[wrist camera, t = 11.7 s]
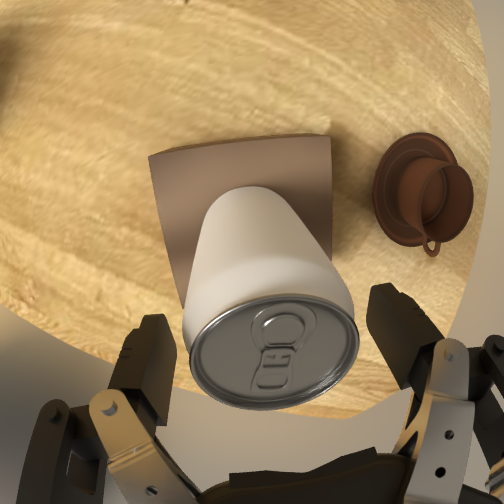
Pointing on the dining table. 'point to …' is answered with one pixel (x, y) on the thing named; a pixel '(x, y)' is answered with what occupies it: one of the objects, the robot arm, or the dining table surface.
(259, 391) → the can
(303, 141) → the walnut block
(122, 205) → the dining table surface
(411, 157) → the cup and saucer
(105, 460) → the robot arm
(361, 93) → the dining table surface
